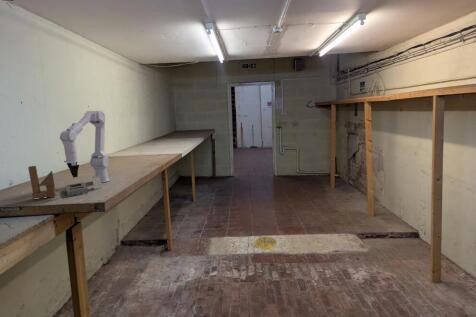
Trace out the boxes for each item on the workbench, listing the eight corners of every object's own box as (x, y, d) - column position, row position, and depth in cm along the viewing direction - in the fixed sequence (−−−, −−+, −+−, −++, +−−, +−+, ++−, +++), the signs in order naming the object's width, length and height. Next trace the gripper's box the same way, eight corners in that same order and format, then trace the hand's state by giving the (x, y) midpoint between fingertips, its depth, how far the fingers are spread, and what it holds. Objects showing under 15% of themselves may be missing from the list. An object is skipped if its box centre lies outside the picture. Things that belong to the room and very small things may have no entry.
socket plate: (66, 190, 196) (65, 185, 195) (84, 186, 200) (83, 182, 200) (68, 196, 182) (67, 191, 181) (88, 193, 187) (87, 188, 186)
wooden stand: (55, 197, 183) (49, 165, 179) (32, 200, 180) (26, 167, 176) (56, 195, 186) (51, 163, 183) (34, 198, 183) (28, 166, 180)
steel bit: (93, 188, 197) (91, 176, 196) (100, 186, 199) (99, 175, 198) (94, 189, 194) (92, 177, 192) (101, 188, 196) (100, 176, 194)
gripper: (61, 151, 191) (65, 174, 193) (63, 155, 178) (67, 179, 181) (75, 149, 194) (78, 172, 197) (78, 153, 182) (82, 177, 185)
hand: (74, 175), depth 189 cm, fingers open, 7 cm apart
